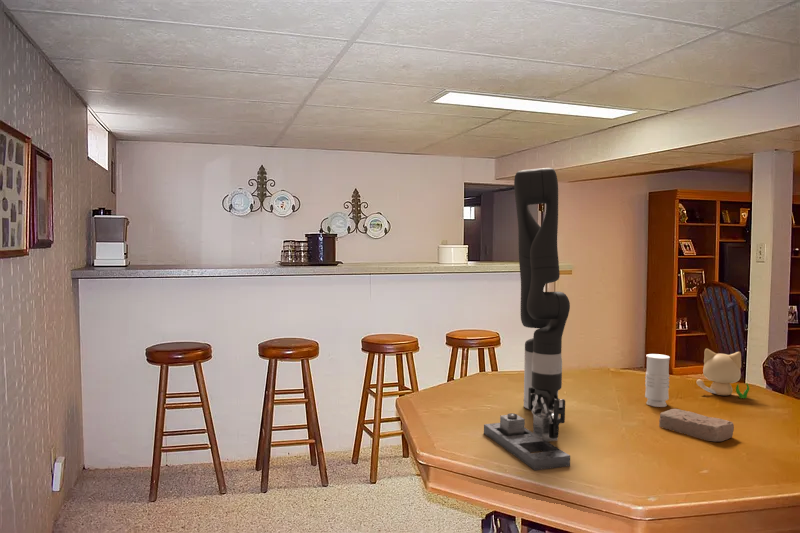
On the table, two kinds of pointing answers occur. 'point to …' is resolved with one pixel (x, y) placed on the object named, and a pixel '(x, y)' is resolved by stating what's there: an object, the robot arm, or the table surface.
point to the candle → (657, 379)
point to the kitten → (722, 373)
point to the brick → (696, 425)
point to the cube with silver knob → (542, 426)
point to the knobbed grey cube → (512, 425)
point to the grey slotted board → (529, 448)
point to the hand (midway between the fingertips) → (545, 433)
